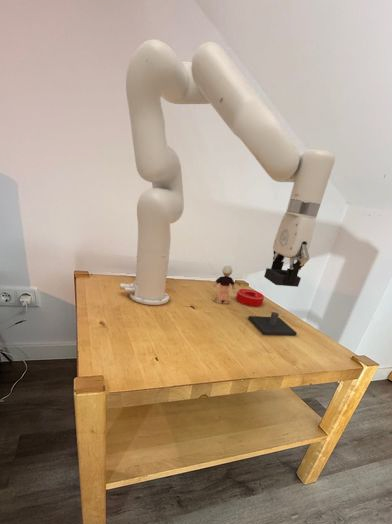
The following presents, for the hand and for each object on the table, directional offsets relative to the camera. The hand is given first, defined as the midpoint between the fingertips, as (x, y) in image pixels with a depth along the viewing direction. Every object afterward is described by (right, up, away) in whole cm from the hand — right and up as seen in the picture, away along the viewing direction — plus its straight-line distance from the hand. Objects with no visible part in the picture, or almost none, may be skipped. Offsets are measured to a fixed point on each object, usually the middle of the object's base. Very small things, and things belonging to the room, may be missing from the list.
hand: (281, 278), depth 82 cm
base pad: (-1, -13, +9) cm, 16 cm away
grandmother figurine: (-15, -3, +22) cm, 27 cm away
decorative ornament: (-4, -2, +27) cm, 28 cm away
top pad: (0, -1, 0) cm, 1 cm away
